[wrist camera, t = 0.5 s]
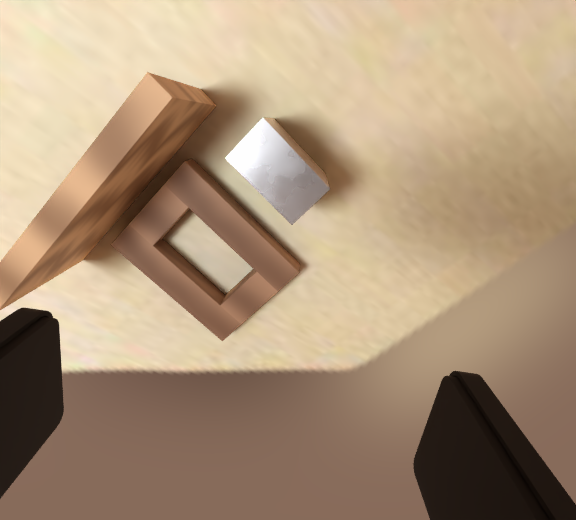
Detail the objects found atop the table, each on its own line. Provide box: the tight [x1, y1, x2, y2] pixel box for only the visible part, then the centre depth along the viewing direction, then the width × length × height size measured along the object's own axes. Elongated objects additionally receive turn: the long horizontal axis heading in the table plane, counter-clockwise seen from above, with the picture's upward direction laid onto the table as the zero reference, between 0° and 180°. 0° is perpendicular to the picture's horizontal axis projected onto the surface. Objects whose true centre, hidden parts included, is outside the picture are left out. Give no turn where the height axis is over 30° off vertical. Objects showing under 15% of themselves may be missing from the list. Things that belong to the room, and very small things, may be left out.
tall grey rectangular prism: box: [225, 117, 330, 225], centre depth 32 cm, size 4×7×9 cm, turn 44°
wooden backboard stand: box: [0, 72, 300, 341], centre depth 34 cm, size 22×18×12 cm
